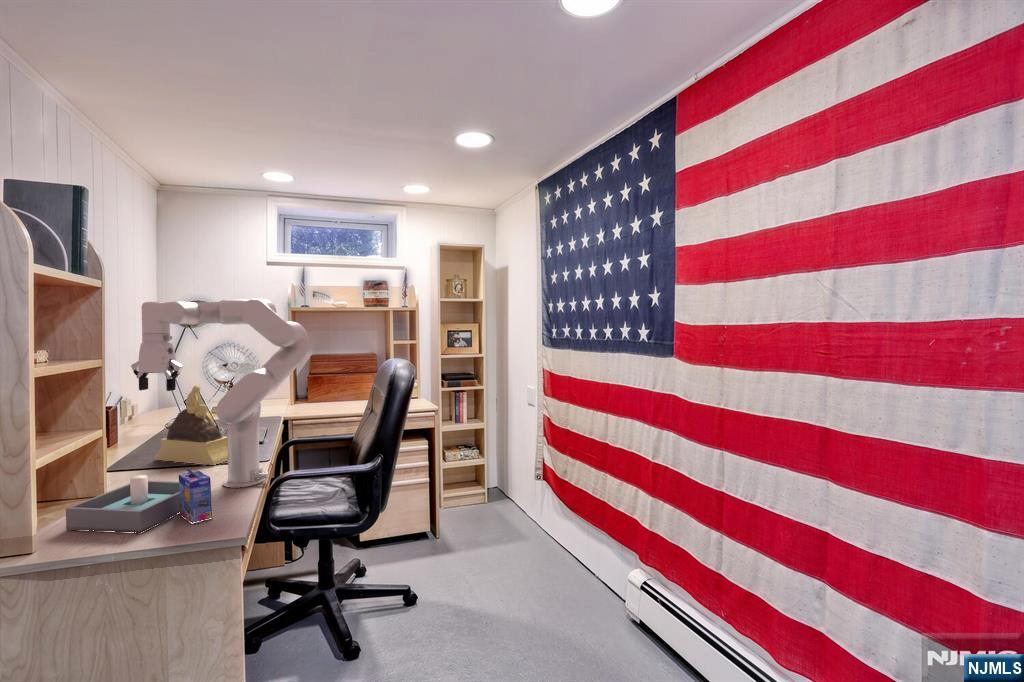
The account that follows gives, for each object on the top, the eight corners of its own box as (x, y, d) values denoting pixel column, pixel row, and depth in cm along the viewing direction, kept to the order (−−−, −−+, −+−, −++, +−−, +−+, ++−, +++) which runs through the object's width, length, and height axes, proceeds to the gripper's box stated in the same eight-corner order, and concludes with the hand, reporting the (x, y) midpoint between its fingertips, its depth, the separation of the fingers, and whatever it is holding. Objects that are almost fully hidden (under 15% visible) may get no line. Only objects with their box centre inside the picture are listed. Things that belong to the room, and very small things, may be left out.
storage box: (202, 501, 152) (202, 482, 152) (140, 534, 129) (140, 511, 129) (138, 499, 154) (137, 480, 153) (66, 530, 131) (65, 508, 130)
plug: (151, 509, 143) (151, 475, 143) (140, 514, 139) (139, 479, 139) (138, 508, 144) (138, 474, 143) (127, 514, 140) (126, 479, 139)
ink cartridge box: (178, 516, 141) (177, 466, 140) (200, 510, 145) (199, 462, 145) (190, 525, 135) (189, 473, 134) (213, 519, 139) (212, 468, 138)
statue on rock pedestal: (240, 457, 201) (239, 384, 199) (213, 466, 188) (212, 388, 187) (184, 452, 208) (182, 381, 206) (155, 460, 195) (153, 385, 194)
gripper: (189, 338, 167) (190, 389, 168) (141, 338, 169) (142, 388, 169) (172, 339, 160) (173, 392, 161) (122, 339, 161) (123, 391, 162)
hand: (157, 390), depth 165 cm, fingers open, 9 cm apart
